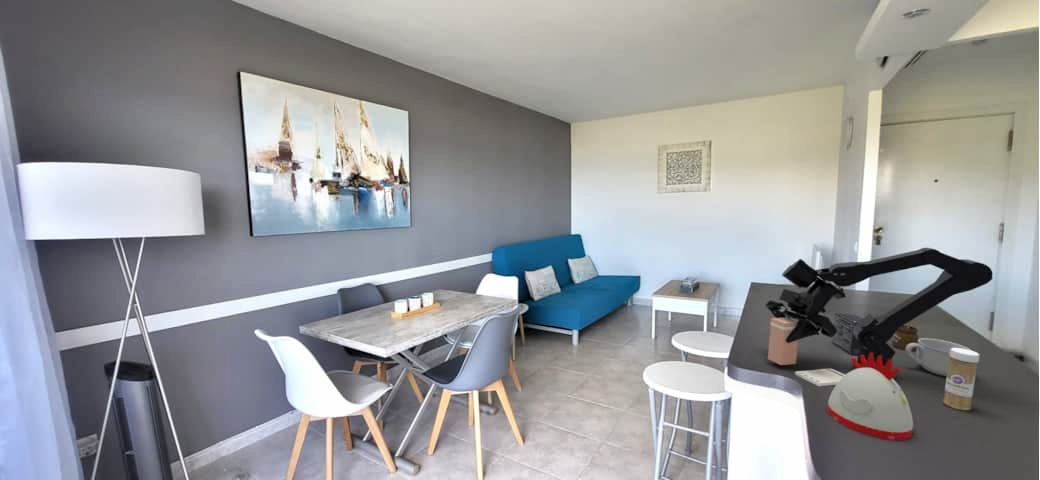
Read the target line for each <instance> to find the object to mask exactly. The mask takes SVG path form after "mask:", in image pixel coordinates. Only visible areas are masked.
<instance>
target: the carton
mask: <svg viewBox="0 0 1040 480" xmlns="http://www.w3.org/2000/svg"><path fill="white" fill-rule="evenodd" d="M769 324H770V328H769V329H770V330H769V340H768V353H767V359H768V360H769V361H771V362H774V363H775V364H778V365H779V366H786V365H795V364H797V357H798V355H797V354H798V345H799V340H796V341H793V342H791V343H787V342H786V339H787V337H788V336H789V335H790V333H791V332H792V331H793V330H794V329H795V327H796V326H797V325H798V320H794V319H793V318H790V319H789V318H776V317H772V318H770V323H769Z"/></svg>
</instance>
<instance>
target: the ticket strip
mask: <svg viewBox="0 0 1040 480" xmlns="http://www.w3.org/2000/svg"><path fill="white" fill-rule="evenodd" d="M794 375H795V376H797V377H799V378H801V379H803V380H805V381H807V382H809V383H811V384H813V385H815V386H817V387H825V386H836V384H837V383H838V382H839V381H840V380H841V378H842V377H843V376H845V375H846V374H844V373H843V372H840V371H839V370H835V369H833V368H822V369H821V368H819V369H810V370H799V371H798V370H797V371H794Z"/></svg>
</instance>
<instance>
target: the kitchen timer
mask: <svg viewBox="0 0 1040 480" xmlns="http://www.w3.org/2000/svg"><path fill="white" fill-rule="evenodd" d="M857 360H858V359H856V357H855V356H854V357H852V358H851V361H852V364H853V366H854V367H855V369H852V370H851V371H849V372H847V373H846V374H845V376H843V377H842V378H841V380H840V381H839V382H838V383H837V384H836V385H834V388H833V390H832V392H831V393H830V394H829V398H828V402H827V408H826V409H827V413H828V415H829V416H830V417H831V418H832V419H833V420H835V421H836V422H837V423H840V424H841V425H843V426H844V427H846V428H849V429H852V430H853V429H854V431H856V432H858V433H861V434H865V435H868V436H871V437H874V438H879V439H884V440H894V441H901V440H907V439H910V438H911V437H912V436H913V429H914V421H913V416H912V411H911V407H910V404H909V400H908V399H907V396H906V395H905V392H903V391H904V390H902V388H901V386H900V385H899V384H898V383H897V382H896V380H894V379H893V377H894V376H895V377H896V375H898V373H900V370H901V367H898V368H896V369H894V370H893V358H892V359H891V360H889V361H888V362H887V363H886V365H885V367H884V366H883V363H882V357H881V355H879V356H878V357H877V360H876V363H875V362H874V356H873V353H869V356H868V359H867V361H866V359H865V357H864V355H860V361H861V365H860V364H859V363H858V362H857Z"/></svg>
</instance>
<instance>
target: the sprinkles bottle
mask: <svg viewBox="0 0 1040 480" xmlns="http://www.w3.org/2000/svg"><path fill="white" fill-rule="evenodd" d="M971 350H972V349H970V350H967V349H962V348H951V349H950V354H949V356H950V362H949V368H948V374H947V376H946V379H945V386H944V395H943V399H942V402H943V404H944V405H946V406H948V407H950V408H952V409H956V410H958V411H970V410H971V409H972V406H971V405H972V399H973V398H972V397H973V396H974V395H973V394H974V389H975V388H974V387H975V381H976V374H977V373H976V372H977V367H978V366H977V365H978V364H979V362H980V353H978V352H976V351H974V350H972V351H971Z"/></svg>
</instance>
